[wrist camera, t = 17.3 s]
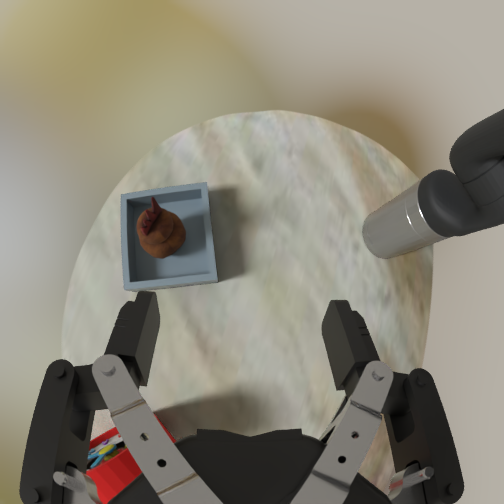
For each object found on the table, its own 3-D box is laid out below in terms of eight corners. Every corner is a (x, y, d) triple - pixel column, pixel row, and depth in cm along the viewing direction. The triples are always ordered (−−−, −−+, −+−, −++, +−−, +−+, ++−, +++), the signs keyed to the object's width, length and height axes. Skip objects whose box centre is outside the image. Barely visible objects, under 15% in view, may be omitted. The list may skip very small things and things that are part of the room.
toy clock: (167, 400, 41) (134, 456, 21) (188, 427, 40) (169, 494, 21) (87, 439, 37) (34, 486, 18) (105, 462, 37) (62, 518, 17)
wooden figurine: (173, 215, 46) (153, 175, 31) (195, 241, 45) (182, 211, 30) (141, 241, 44) (108, 212, 30) (162, 268, 44) (134, 250, 29)
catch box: (208, 194, 48) (206, 182, 43) (218, 282, 45) (217, 279, 40) (129, 205, 46) (120, 194, 41) (134, 291, 44) (124, 289, 39)
